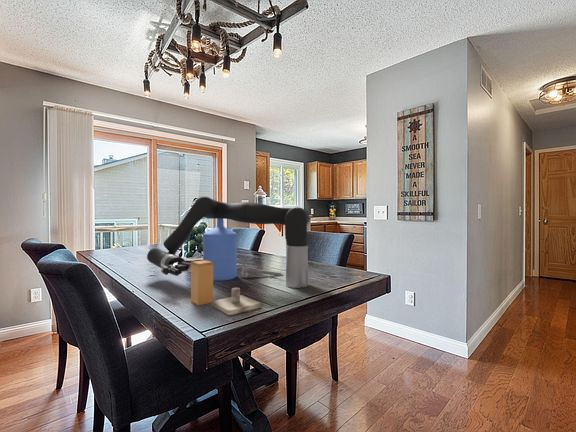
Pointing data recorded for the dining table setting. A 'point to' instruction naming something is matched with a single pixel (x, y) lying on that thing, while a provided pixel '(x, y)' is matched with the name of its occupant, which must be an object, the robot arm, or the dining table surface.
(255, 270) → the caliper
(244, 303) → the stub plate
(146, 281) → the dining table surface
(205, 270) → the orange tall block
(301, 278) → the robot arm
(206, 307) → the dining table surface
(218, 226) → the water jug
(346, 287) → the dining table surface
